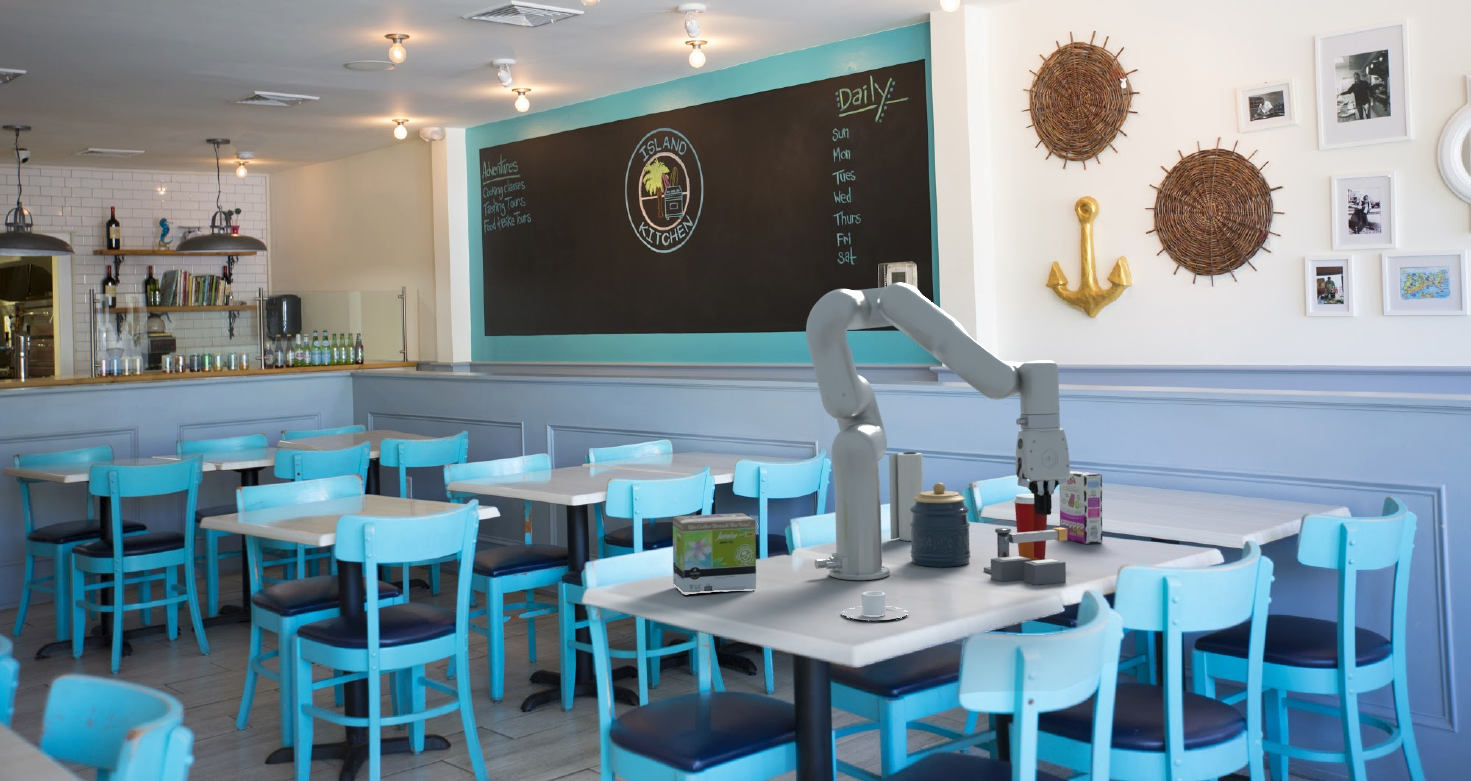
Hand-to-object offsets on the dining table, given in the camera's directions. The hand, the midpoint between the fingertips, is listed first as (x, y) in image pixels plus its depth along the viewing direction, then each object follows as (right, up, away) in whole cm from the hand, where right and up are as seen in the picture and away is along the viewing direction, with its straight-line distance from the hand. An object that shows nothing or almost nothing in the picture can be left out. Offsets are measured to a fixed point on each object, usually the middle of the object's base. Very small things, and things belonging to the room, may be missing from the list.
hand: (1043, 514), depth 239 cm
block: (-5, -14, +5) cm, 15 cm away
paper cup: (+4, -13, +26) cm, 29 cm away
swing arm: (+2, -7, +13) cm, 15 cm away
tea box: (-66, -16, +1) cm, 67 cm away
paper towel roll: (-19, -12, +55) cm, 59 cm away
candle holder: (-36, -16, -24) cm, 47 cm away
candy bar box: (+21, -11, +47) cm, 53 cm away
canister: (-16, -13, +24) cm, 32 cm away
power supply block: (0, -14, 0) cm, 14 cm away
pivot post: (-5, -13, +11) cm, 18 cm away
